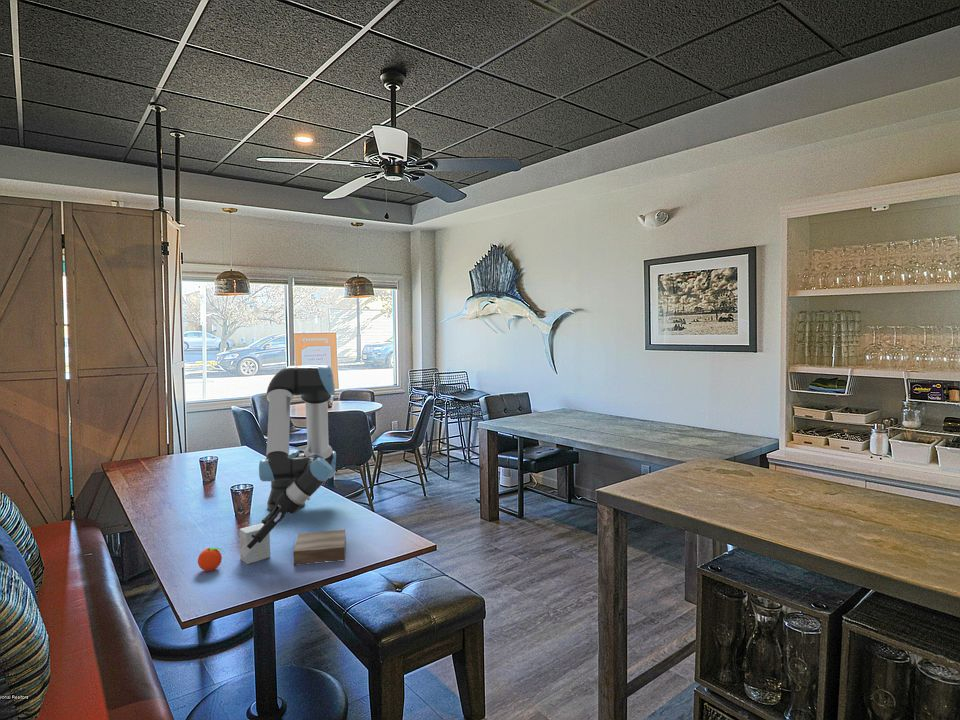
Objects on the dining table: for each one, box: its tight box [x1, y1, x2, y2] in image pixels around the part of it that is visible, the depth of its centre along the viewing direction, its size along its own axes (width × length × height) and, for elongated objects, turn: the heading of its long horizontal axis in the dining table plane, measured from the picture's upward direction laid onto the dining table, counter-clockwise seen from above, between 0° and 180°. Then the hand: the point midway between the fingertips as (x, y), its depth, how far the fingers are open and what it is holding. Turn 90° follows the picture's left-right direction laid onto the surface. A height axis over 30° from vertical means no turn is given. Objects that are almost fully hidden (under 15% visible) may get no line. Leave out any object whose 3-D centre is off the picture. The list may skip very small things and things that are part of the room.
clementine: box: [197, 547, 226, 572], centre depth 181 cm, size 8×7×7 cm
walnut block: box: [293, 529, 346, 566], centre depth 194 cm, size 16×16×5 cm
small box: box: [238, 522, 271, 565], centre depth 190 cm, size 8×6×10 cm
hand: (244, 548), depth 189 cm, fingers closed on small box, 9 cm apart
